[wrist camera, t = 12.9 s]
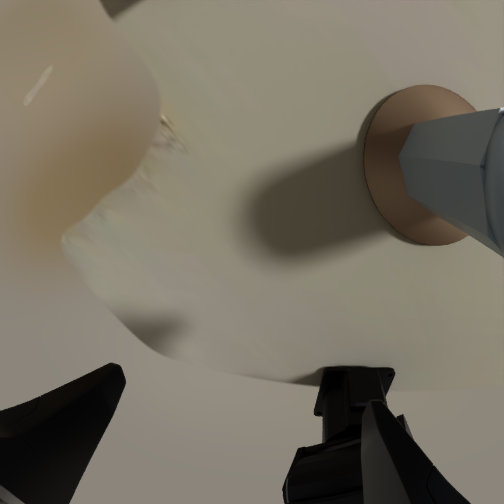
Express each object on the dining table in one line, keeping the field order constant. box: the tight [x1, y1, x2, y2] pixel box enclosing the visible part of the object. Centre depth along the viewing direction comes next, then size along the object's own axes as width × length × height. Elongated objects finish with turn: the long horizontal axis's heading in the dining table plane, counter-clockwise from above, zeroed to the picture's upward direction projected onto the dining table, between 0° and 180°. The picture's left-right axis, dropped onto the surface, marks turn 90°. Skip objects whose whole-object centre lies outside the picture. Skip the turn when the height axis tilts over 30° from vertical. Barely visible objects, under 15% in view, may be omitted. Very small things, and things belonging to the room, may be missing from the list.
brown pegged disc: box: [364, 85, 477, 246], centre depth 14 cm, size 11×11×4 cm
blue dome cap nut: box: [398, 108, 504, 258], centre depth 10 cm, size 6×6×10 cm
